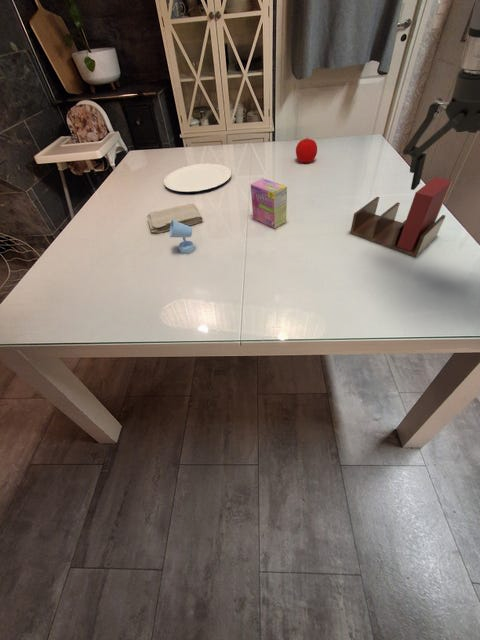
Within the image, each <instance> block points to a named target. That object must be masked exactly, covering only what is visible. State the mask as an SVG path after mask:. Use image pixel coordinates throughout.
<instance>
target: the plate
mask: <svg viewBox="0 0 480 640" xmlns="http://www.w3.org/2000/svg"><path fill="white" fill-rule="evenodd" d="M231 177H232V171H231V169H230V168H229V167H227V166H226V165H223V164H220V163H207V162H205V163H195V164H189V165H186V166H183V167H180V168H176V169H175V170H173V171H171V172H169V173H168V174H167V175H166V176H165V177H164V180H163V185H164V186H165V188H167V189H168V190H171V191H173V192H179V193H197V192H198V193H199V192H203V191H204V192H205V191H209V190H211V189H215V188H217V187H219V186H221V185H223V184H225V183H226V182H228V181H229V180H230V178H231Z"/></svg>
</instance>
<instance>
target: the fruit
mask: <svg viewBox="0 0 480 640" xmlns="http://www.w3.org/2000/svg"><path fill="white" fill-rule="evenodd" d="M317 153H318V145H317V143H316V141H315V139H312V138H309V137H308V136H306V138H304V139H301V140H300V141H298V142H297V145H296V147H295V156H296V158H297V160H298V161H299V162H300V163H305V164H310V163H311V162H313V161H314V160H315V158H316V156H317V155H318V154H317Z"/></svg>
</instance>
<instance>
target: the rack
mask: <svg viewBox="0 0 480 640" xmlns="http://www.w3.org/2000/svg"><path fill="white" fill-rule="evenodd" d="M379 201H380V196H376V197H374V199H372V200H371V201H369V202H368V203H366V204H365V205H364V206H362V207H360V209H358V210H357V211H356V212H353V218H352V221H351V227H350V232H349V233H350V235H352V236H355V237H358V238H361V239H363V240H366V241H370V242H371V243H375V244H378V245H381V246H383V247H386V248H389V249H392V250H394V251H397V252H399V253H401V254H402V253H403V254H405V255H408V256H410V257H413V258H417V257H418V256H419V255H420V254H421V253H422V252H423V251H424V250H425V249H426V248H427V247H428V246H429V245H430V244H431V243H432V242H433V241H434V240H435V239H436V238H437V236H438V234H439V231H440V229H441V228H442V225H443V223H444V220H445V218H446V215H445V214H442V215H441V216H439V218H438V219H436V221H435V223H434V224H433V225H432V226H431V227H430V228H428V229H427V230H426V231H425V232H424V233H423V234H422V235H421V238H420V240H419V243H418V245H417V247H416V248H414V249H413V250H412V251H409V250H406V249H403V248H400V247H397V245H398V242H399V239H400V236H401V233H402V230H403V228H404V225H405V222H406V219H405V220H404V221H402V222H401V221H398V220H396V217H397V214H398V210H399V207H400V202H396V203H394V204H393V205H392V206H390V207H389V208H388V209H387V210H386V211H385V212H383V213H382V214H381V215H379V214H376V213H377V208H378V206H379V205H378V204H379Z"/></svg>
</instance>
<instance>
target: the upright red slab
mask: <svg viewBox="0 0 480 640" xmlns="http://www.w3.org/2000/svg"><path fill="white" fill-rule="evenodd" d="M452 183H453V180H452V179H447V178H442V177H438V176H435V177H433V178H432V179H430V180H429V181H428V182H427V183H426V184H425V185H423V186H422V187H421V188H420V189H418V190H417V191H416V192H415V194H414V196H413V198H412V199H413V200H412V202H411V204H410V208H409V211H408V214H407V217H406V219H405V220H406V222H405V225H404V228H403V230H402V233H401V236H400V239H399V242H398V245H397V247H400V248H403V249H406V250H409V251H412V250H413V249H414V248H416V247H417V245H418V243H419V240H420V238H421V235H422V234H423V233H424V232H425V231H426V230H427V229H428V228H430V227H431V226H432V225H433V224H434V223H435V222H436V221H437V218H438V216H439V213H440V211H441V209H442V207H443V204H444V202H445V199H446V197H447V195H448V193H449V190H450V187H451V186H452Z"/></svg>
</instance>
